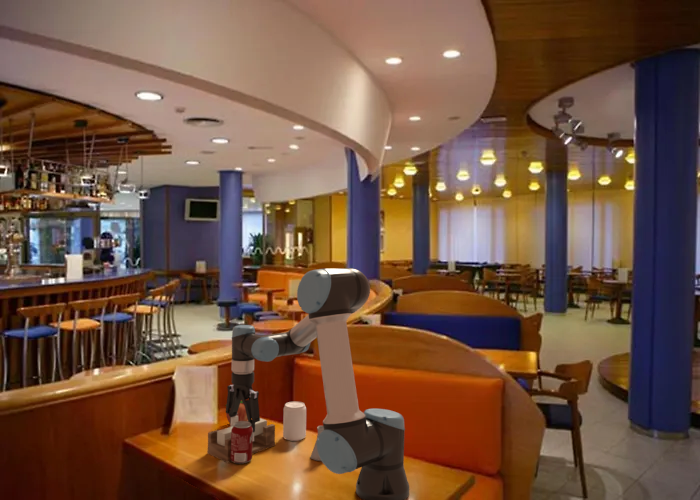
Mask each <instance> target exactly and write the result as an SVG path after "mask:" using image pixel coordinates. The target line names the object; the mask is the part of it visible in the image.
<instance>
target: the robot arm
mask: <svg viewBox="0 0 700 500" xmlns="http://www.w3.org/2000/svg"><path fill="white" fill-rule="evenodd" d="M370 285H371V284H370V282H369V279H368V278H367V276H366V275H365V274H364V273H363V272H362V271H360V270H358V269H356V268H352V267H347V268H346V267H345V268H319V269H313V270H309V271H307V272H306V273H304V274H303V276H302V277H301V279H300V281H299V283H298V287H297V290H296V291H297V292H296V296H297V297H296V299H297V302H298V306H299V307H300V309H301V310H302V311H303V312H305V313H306V314H307V315H306V316H304V317H303V318H302V319H301V320H300V321H299V322H298V323H296V325H294V326H293V327H292V328H291V329H289V330H288V331H286V332H279V333H273V334H265V335H261V334H256V328H255V326H254V325H251V324H240V325H235V326H233V327H232V332H231V333H232V335H231V369H230V370H231V372H232V373H231V384H230V385H227V386H226V389H227V395H226V396H227V398H226V404H225V405H226V406H225V407H226V408H225V413H226V414H229V416H230V423H229V425H230V427H232V426H234V423H235V422H238V416H236V415H238V413H237V412H238V408H239V405H240V402H241V401H242V403H243V404H244V406H245V410H246V414H247V418H248V420H247V421H248V422H250V423H251V427H252V428H253V440H252V441H254V432H255V423H256V422H258V421H260V405H259V394H260V393H259V391H254V390H253V389H254V388H253V384H254V382H255V372H254V371H255V360H257V361H260V362H268V363H269V362H272V361H273V360H274V359H276V358H278V357H283V356H291V355H299V354H301V353H305V352H307V351H308V350H309V348H310V346H311V343H312V342H313V341H314V340H315V339H317V346H318V353H319V360H320V368H321V377H322V382H323V393H324V398H325V406H326V413H327V414H326V416H325V418H324V419H323V420H322V426H324V431H322V432H321V433H320V434H319V436H318V439H317V438H316V440H317V450H318V454H319V457H320V459H321V461H320V462H321V463H322V464H323V465H324V466H325V467H326V468H327V470H329V471H330V472H332V473H334V474H337V475H343V474H345V473H352V472H354V471H356V470H358V469H360V471H359V474H358V477H357V480H356V484H355V492H356V495H357V496H358V497H359V498H360V499H361V500H406V499H408V498H409V495H410V484H409V481H408V477H407V473H406V469H405V465H404V462H405V461H404V457H405V455H404V454H405V430H406V428H405V419H404V416H403V415H402V414H401V413H399V412H396V411H393V410H390V409H385V408H368V409H365V410H364V411H361V410H360V408H359V399H358V394H357V393H358V392H357V388H356V381H355V373H354V367H353V360H352V359H353V358H352V352H351V345H350V337H349V331H348V325H347V320H348V319H349V318H350V316H351V315H352V314H355V313H356V312H357V311H358V310H360V309H361V308H362V307H363V306H365V304H366V303H367V302H368V300H369V298H370V295H371V286H370Z"/></svg>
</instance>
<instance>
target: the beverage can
mask: <svg viewBox="0 0 700 500" xmlns="http://www.w3.org/2000/svg"><path fill="white" fill-rule="evenodd" d="M282 420H283V421H282V423H283V427H282V428H283V429H282V437H283V439H285V440H287V441H290V442H291V441H292V442H297V441H301V440H302V439H304V438H306V436H307V407H306V405H305V402H302V401H289V402H286V403H284V407H283V419H282Z"/></svg>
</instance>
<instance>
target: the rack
mask: <svg viewBox="0 0 700 500" xmlns="http://www.w3.org/2000/svg"><path fill="white" fill-rule="evenodd" d="M219 430H220V429H215V430H213V431H209V432H208V433H207V452H206V453H207V454H208V455H210V456H212V457H215V458H216V459H218V460H221V461H223V462H225V463H227V464H229V463H231V462H232V461H231V460H230V454H231V438H229V439H226V440H225V446H223V445H220V444H218V443H217V431H219ZM275 439H276V425H275V424H267V426H265V427H263V433H262V434H259V435H256V436H254V441H252V455H253V454H256V453H258V451H259V452H261V451H263V450H267V449H268V448H272V447H274V446H276V440H275ZM266 448H267V449H266ZM232 463H233V462H232Z"/></svg>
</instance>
